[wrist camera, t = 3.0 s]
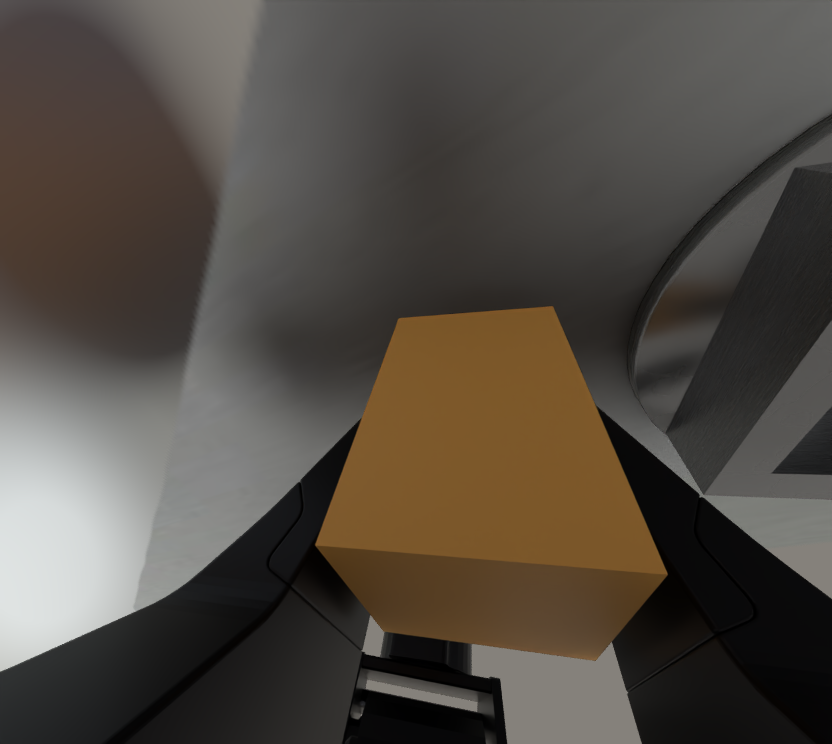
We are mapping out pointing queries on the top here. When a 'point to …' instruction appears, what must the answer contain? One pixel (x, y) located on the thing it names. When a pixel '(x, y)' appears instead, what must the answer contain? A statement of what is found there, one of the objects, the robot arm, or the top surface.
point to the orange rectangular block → (489, 493)
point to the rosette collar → (748, 333)
